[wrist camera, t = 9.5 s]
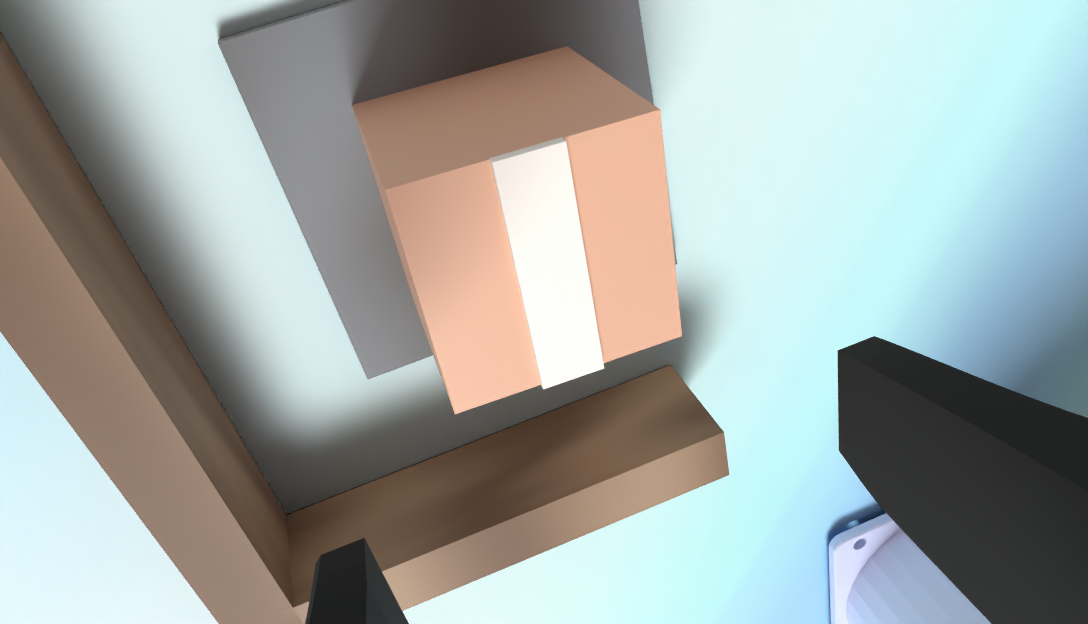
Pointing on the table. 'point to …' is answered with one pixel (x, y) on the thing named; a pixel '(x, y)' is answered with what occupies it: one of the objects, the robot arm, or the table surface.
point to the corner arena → (365, 310)
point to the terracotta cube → (527, 221)
